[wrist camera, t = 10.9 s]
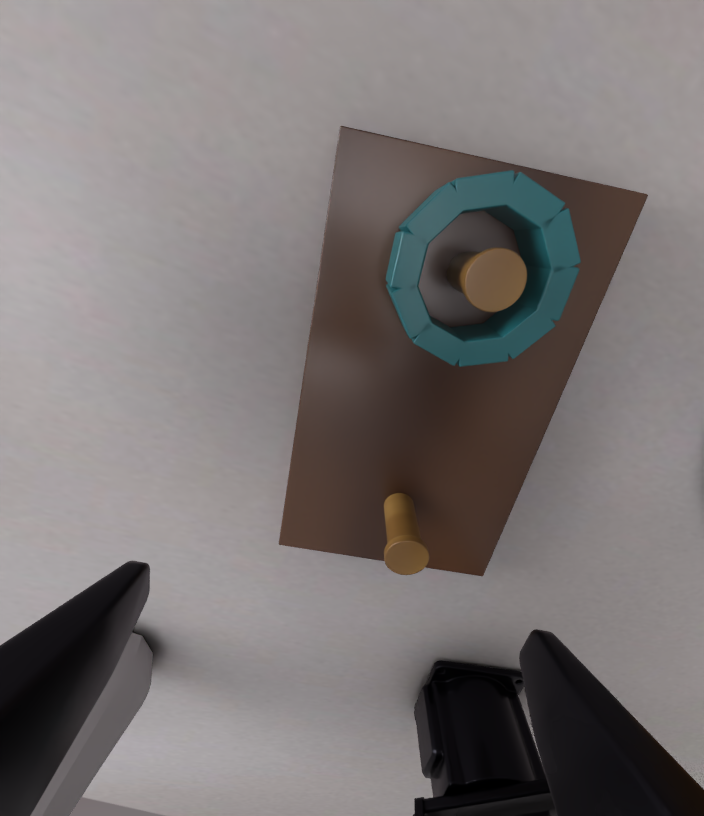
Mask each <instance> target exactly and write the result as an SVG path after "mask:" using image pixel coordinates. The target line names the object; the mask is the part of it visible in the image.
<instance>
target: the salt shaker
mask: <svg viewBox="0 0 704 816" xmlns="http://www.w3.org/2000/svg"><path fill="white" fill-rule="evenodd" d="M152 661H153V653H152V651H151V649H150V648H149V646H148V645H147V643H146V641H145V640H144V638H143V636H141V635H138V634H135V633H131V636H130V638H129V640H128V642H127V644H126V646H125V649H124V651H123V653H122V655H121V657H120V659H119V662H118V664H117V666H116V668H115V670H114V672H113V674H112V676H111V678H110V679H109V681H108V683H107V685H106V687H105V688H104V690H103V692H102V694H101V695H100V697H99V699H98V700H97V702H96V704H95V706H94V707H93V709H92V711H91V712H90V714H89V716H88V718H87V719H86V721H85V723H84V724H83V726H82V728H81V730H80V731H79V733H78V735H77V737H76V738H75V740H74V742H73V743H72V745H71V747H70V749H69V750H68V752H67V754H66V755H65V757H64V759H63V761H62V762H61V764H60V766H59V768H58V769H57V771H56V773H55V774H54V776H53V778H52V780H51V781H50V783H49V785H48V786H47V788H46V790H45V792H44V793H43V795H42V797H41V799H40V800H39V802H38V804H37V805H36V807H35V809H34V811H33V812H32V814H31V816H69V815H70V814H71V812H72V811H73V809H74V807H75V806H76V804H77V803H78V801H79V800H80V798H81V797H82V795H83V794H84V792H85V790H86V789H87V787H88V786H89V784H90V783H91V781H92V780H93V778H94V777H95V775H96V774H97V772H98V770H99V769H100V767H101V766H102V764H103V763H104V761H105V760H106V758H107V757H108V755H109V754H110V752H111V751H112V749H113V748H114V746H115V745H116V743H117V742H118V740H119V739H120V737H121V736H122V734H123V733H124V731H125V730H126V728H127V727H128V725H129V724H130V722H131V721H132V719H133V718H134V716H135V715H136V713H137V712H138V710H139V709H140V707H141V706H142V704H143V702H144V700H145V698H146V696H147V694H148V692H149V689H150V685H151V675H152Z"/></svg>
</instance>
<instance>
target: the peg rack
mask: <svg viewBox="0 0 704 816" xmlns="http://www.w3.org/2000/svg"><path fill="white" fill-rule="evenodd" d="M510 170H513V171H514V174H516V173H518V172H522V173H523V174H525V175H526V176H528V177H529V178H530V179H532V180H533V181H535V182H536V183H538V184H539V185H541V186H542V187H543V188H545V189H546V190H548V191H549V192H551V193H552V194H553V195H555V196H556V197H558V198H559V199H561V200H562V201H564V202H565V205H564V206H563V208H562V209H565V208H569V211H570V215H571V220H572V224H573V229H574V233H575V237H576V242H577V246H578V251H579V255H580V260H581V263H580V264H577V265H575V266H574V267H578V268H579V273H578V275H577V278H576V280H575V283H574V285H573V288H572V290H571V293H570V295H569V298H568V300H567V303H566V305H565V308H564V310H563V313H562V315H561V318H560V320H559V321H554V320H552V321H553V322H554V324H555V325H556V326H555V327H554V328H553V329H551V330H550V331H549V332H548V333H546V334H545V335H544V336H542V337H541V338H540V339H539V340H537V341H536V342H535V343H534V344H532V345H531V346H530V347H528V348H527V349H526V350H525V351H523V352H522V353H521V354H519V355H518V356H517V357H516V358H514V359H512V358H510V357H509V356H508V361H506V362H498V363H489V364H480V365H472V366H463V367H459V366H458V365H457V363H456V364H455V366H453V365H451V364H449V363H447V362H446V361H444V360H442V359H440V358H439V357H437V356H435V355H433V354H431V353H430V352H428V351H426V350H424V349H423V348H421V347H419V346H417V345H415V344H414V343H413V342H412V340H411V339H410V338H409V337H408V335H407V333H406V331H405V329H404V327H403V325H402V323H401V321H400V318H399V316H398V314H397V311H396V309H395V306H394V304H393V302H392V299H391V297H390V294H389V292H388V290H387V287H386V285H387V284H388V283H387V281H386V274H387V270H388V265H389V260H390V256H391V251H392V247H393V242H394V237H395V233H396V232H401V231H400V229H399V226H400V225H401V224H402V223H403V222H404V221H405V220H406V219H407V218H408V217H409V216H410V215H411V214H412V213H413V212H414V211H415V210H416V209H417V208H418V207H419V206H420V205H421V204H422V203H423V202H424V201H425V200H426V199H427V198H428V197H429V196H430V195H431V194H432V193H433V192H434V191H435V190H437V189H439V188H440V187H442V186H443V185H445V184H447V183H448V182H452V181H453V180H455V179H457V178H462V177H469V176H476V175H483V174H490V173H497V172H503V171H510ZM647 196H648V195H647V194H644V193H639V192H635V191H630V190H626V189H621V188H617V187H612V186H608V185H603V184H599V183H594V182H590V181H585V180H581V179H576V178H572V177H568V176H563V175H559V174H554V173H550V172H545V171H541V170H536V169H532V168H527V167H523V166H518V165H514V164H509V163H505V162H500V161H496V160H492V159H487V158H483V157H478V156H474V155H469V154H465V153H460V152H456V151H451V150H447V149H442V148H438V147H433V146H429V145H424V144H420V143H416V142H411V141H407V140H402V139H398V138H393V137H389V136H384V135H380V134H375V133H371V132H366V131H362V130H357V129H353V128H348V127H344V126H340V131H339V138H338V144H337V151H336V158H335V165H334V172H333V178H332V185H331V192H330V199H329V206H328V212H327V219H326V226H325V233H324V240H323V246H322V253H321V260H320V267H319V274H318V281H317V287H316V294H315V301H314V308H313V315H312V321H311V328H310V335H309V342H308V349H307V355H306V362H305V369H304V376H303V383H302V389H301V396H300V403H299V410H298V417H297V423H296V430H295V437H294V444H293V451H292V457H291V464H290V471H289V478H288V485H287V491H286V498H285V505H284V512H283V519H282V526H281V532H280V539H279V545H285V546H291V547H298V548H304V549H310V550H317V551H323V552H330V553H336V554H343V555H349V556H356V557H362V558H368V559H375V560H381V561H385V563H386V565H387V567H388V568H389V569H390V570H391V571H393V572H395V573H397V574H401V575H411V574H415V573H417V572H419V571H421V570H422V569H424V568H425V567H426V568H433V569H439V570H446V571H452V572H458V573H465V574H471V575H478V576H483V575H484V572H485V570H486V568H487V565H488V563H489V561H490V559H491V556H492V554H493V552H494V549H495V547H496V545H497V542H498V540H499V538H500V535H501V533H502V531H503V529H504V526H505V524H506V522H507V519H508V517H509V515H510V512H511V510H512V508H513V505H514V503H515V501H516V499H517V496H518V494H519V492H520V489H521V487H522V485H523V482H524V480H525V478H526V475H527V473H528V471H529V469H530V466H531V464H532V462H533V459H534V457H535V455H536V452H537V450H538V448H539V446H540V443H541V441H542V439H543V436H544V434H545V432H546V429H547V427H548V425H549V422H550V420H551V418H552V416H553V413H554V411H555V409H556V406H557V404H558V402H559V399H560V397H561V395H562V392H563V390H564V388H565V386H566V383H567V381H568V379H569V376H570V374H571V372H572V369H573V367H574V365H575V362H576V360H577V358H578V356H579V353H580V351H581V349H582V346H583V344H584V342H585V339H586V337H587V335H588V332H589V330H590V328H591V326H592V323H593V321H594V319H595V316H596V314H597V312H598V309H599V307H600V305H601V302H602V300H603V298H604V296H605V293H606V291H607V289H608V286H609V284H610V282H611V279H612V277H613V275H614V272H615V270H616V268H617V266H618V263H619V261H620V259H621V256H622V254H623V252H624V249H625V247H626V245H627V242H628V240H629V238H630V236H631V233H632V231H633V229H634V226H635V224H636V222H637V219H638V217H639V215H640V212H641V210H642V208H643V206H644V203H645V201H646V199H647ZM526 281H527V270H526V266H525V263H524V261H523V260H522V258H521V255H520V251H519V248H518V244H517V241H516V237H515V233H514V230H513V229H511V228H510V227H508V226H507V225H505V224H504V223H502V222H501V221H499V220H498V219H496V218H495V217H493V216H492V215H490V214H488V213H487V212H485V211H478V212H470V213H463V214H460V215H459V216H458V217H457V218H456V219H454V220H453V221H452V222H451V223H450V224H449V225H448V226H447V227H446V228H445V229H444V230H443V231H442V232H441V233H440V234H439V235H438V236H437V237H435V238H434V239H433V240H432V241H431V242H430V243H429V245H428V249H427V253H426V257H425V261H424V265H423V269H422V273H421V277H420V281H419V285H418V287H419V289H420V292H421V295H422V297H423V300H424V302H425V305H426V307H427V310H428V313H429V315H430V316H431V317H433V318H435V319H437V320H438V321H440V322H442V323H443V324H445V325H447V326H449V327H458V326H466V325H474V324H483V323H484V322H485V321H487V320H488V319H489V318H490V317H491V316H493V315H494V314H495V313H496V312H498V311H501V310H504V309H506V308H508V307H510V306H511V305H512V304H513V303H515V302H516V301H517V300H518V298H519V297H520V296H521V294H522V292H523V290H524V288H525V285H526Z"/></svg>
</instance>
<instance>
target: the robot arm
mask: <svg viewBox="0 0 704 816" xmlns="http://www.w3.org/2000/svg"><path fill="white" fill-rule="evenodd" d="M149 589H150V567H149V565H148V564H147V563H143V562H137V561H129V562H127V563H125V564H124V565H122V566H121V567H119V568H117V569H116V570H114V571H113V572H111V573H110V574H108V575H107V576H105V577H104V578H102V579H101V580H99V581H98V582H96V583H95V584H93V585H92V586H90V587H89V588H87V589H86V590H84V591H83V592H81V593H79V594H78V595H76V596H75V597H73V598H72V599H70V600H69V601H67V602H66V603H64V604H63V605H61V606H60V607H58V608H57V609H55V610H54V611H52V612H51V613H49V614H48V615H46V616H45V617H43V618H41V619H40V620H38V621H37V622H35V623H34V624H32V625H31V626H29V627H28V628H26V629H25V630H23V631H22V632H20V633H19V634H17V635H16V636H14V637H13V638H11V639H10V640H8V641H7V642H5V643H3V644H2V645H0V816H31V814H32V812H33V811H34V809H35V807H36V805H37V804H38V802H39V800H40V799H41V797H42V795H43V793H44V792H45V790H46V788H47V786H48V785H49V783H50V781H51V780H52V778H53V776H54V774H55V773H56V771H57V769H58V768H59V766H60V764H61V762H62V761H63V759H64V757H65V755H66V754H67V752H68V750H69V749H70V747H71V745H72V743H73V742H74V740H75V738H76V737H77V735H78V733H79V731H80V730H81V728H82V726H83V724H84V723H85V721H86V719H87V718H88V716H89V714H90V712H91V711H92V709H93V707H94V706H95V704H96V702H97V700H98V699H99V697H100V695H101V694H102V692H103V690H104V688H105V687H106V685H107V683H108V681H109V679H110V678H111V676H112V674H113V672H114V670H115V668H116V666H117V664H118V662H119V659H120V657H121V655H122V653H123V651H124V649H125V646H126V644H127V642H128V640H129V638H130V636H131V633H132V631H133V629H134V627H135V625H136V623H137V620H138V618H139V616H140V614H141V612H142V610H143V607H144V605H145V603H146V601H147V598H148V595H149ZM519 659H520V667H521V672H519V671H512V670H505V669H498V668H491V667H484V666H477V665H469V664H462V663H455V662H448V661H437V662H436V663H435V664H434V666H433V668H432V670H431V673H430V675H429V678H428V680H427V682H426V684H425V685H424V686H423V688H422V690H421V692H420V695H419V697H418V700H417V702H416V704H415V711H414V716H415V720H416V725H417V733H418V742H419V750H420V758H421V766H422V773H423V774H424V776H425V777H426V778H431V783H432V791H433V798H428V799H424V797H421V798H415V814H414V815H413V816H704V789H703V788H702V787H701V786H700V785H699V784H698V783H697V782H696V781H695V780H694V779H693V778H692V777H691V776H690V775H689V774H688V773H687V772H686V771H685V770H684V769H683V768H682V767H681V766H680V765H679V763H678V762H677V761H676V760H675V759H674V758H673V757H672V756H671V755H670V754H669V753H668V752H667V751H666V750H665V749H664V748H663V747H662V746H661V745H660V744H659V743H658V742H657V741H656V740H655V739H654V738H653V737H652V735H651V734H650V733H649V732H648V731H647V730H646V729H645V728H644V727H643V726H642V725H641V724H640V723H639V722H638V721H637V720H636V719H635V718H634V717H633V716H632V715H631V714H630V713H629V712H628V711H627V710H626V709H625V708H624V706H623V705H622V704H621V703H620V702H619V701H618V700H617V699H616V698H615V697H614V696H613V695H612V694H611V693H610V692H609V691H608V690H607V689H606V688H605V687H604V686H603V685H602V684H601V683H600V682H599V681H598V680H597V678H596V677H595V676H594V675H593V674H592V673H591V672H590V671H589V670H588V669H587V668H586V667H585V666H584V665H583V664H582V663H581V662H580V661H579V660H578V659H577V658H576V657H575V656H574V655H573V654H572V653H571V652H570V651H569V649H568V648H567V647H566V646H565V645H564V644H563V643H562V642H561V641H560V640H559V639H558V638H557V637H556V636H555V635H554V634H553V633H551V632H548V631H543V630H533V631H532V632H531V633H530V635H529V637H528V638H527V640H526V642H525V644H524V646H523V647H522V649H521V651H520V657H519ZM523 687H525V692H526V697H527V702H528V707H529V712H530V717H531V722H532V727H533V731H534V736H535V740H536V743H537V747H538V751H539V754H540V757H539V754H538V751H537V748H536V745H535V742H534V740H533V737H532V734H531V731H530V728H529V725H528V722H527V720H526V717H525V714H524V711H523V708H522V705H521V702H520V700H519V697H518V695H519V693H520V692H521V690H522V688H523ZM540 758H541V760H540ZM541 761H542V762H541Z"/></svg>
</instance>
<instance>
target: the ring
mask: <svg viewBox="0 0 704 816" xmlns="http://www.w3.org/2000/svg"><path fill="white" fill-rule="evenodd" d="M564 205H565V202H564V201H562V200H561V199H559V198H558V197H556V196H555V195H553V194H552V193H551V192H549V191H548V190H546V189H545V188H543V187H542V186H541V185H539V184H538V183H536V182H535V181H533V180H532V179H530V178H529V177H528V176H526V175H525V174H523V173H522V172H518V173H516V174H514V171H513V170H510V171H503V172H497V173H490V174H483V175H476V176H469V177H462V178H457V179H455V180H453V181H452V182H448V183H447V184H445V185H443V186H442V187H440V188H439V189H437V190H435V191H434V192H433V193H432V194H431V195H430V196H429V197H428V198H427V199H426V200H425V201H424V202H423V203H422V204H421V205H420V206H419V207H418V208H417V209H416V210H415V211H414V212H413V213H412V214H411V215H410V216H409V217H408V218H407V219H406V220H405V221H404V222H403V223H402V224H401V225H400V226H399V229H400V231H401V232H396V233H395V237H394V242H393V247H392V251H391V256H390V260H389V265H388V270H387V274H386V281H387V283H388V284H387V285H386V287H387V290H388V292H389V294H390V297H391V299H392V302H393V304H394V306H395V309H396V311H397V314H398V316H399V318H400V321H401V323H402V325H403V327H404V329H405V331H406V333H407V335H408V337H409V338H410V339H411V340H412V342H413V343H414V344H415V345H417V346H419V347H421V348H423V349H424V350H426V351H428V352H430V353H431V354H433V355H435V356H437V357H439V358H440V359H442V360H444V361H446V362H447V363H449V364H451V365H453V366H455V364H456V363H457V365H458V366H459V367H463V366H472V365H480V364H489V363H498V362H506V361H508V356H509V357H510V358H512V359H514V358H516V357H517V356H518V355H519V354H521V353H522V352H523V351H525V350H526V349H527V348H528V347H530V346H531V345H532V344H534V343H535V342H536V341H537V340H539V339H540V338H541V337H542V336H544V335H545V334H546V333H548V332H549V331H550V330H551V329H553V328H554V327H555V326H556V325H555V324H554V322H553V321H552V320H554V321H559V320H560V318H561V315H562V313H563V310H564V308H565V305H566V303H567V300H568V298H569V295H570V293H571V290H572V288H573V285H574V283H575V280H576V278H577V275H578V273H579V268H578V267H574V266H575V265H577V264H580V263H581V260H580V255H579V251H578V246H577V242H576V237H575V233H574V229H573V224H572V220H571V215H570V211H569V208H565V209H562V208H563V206H564ZM478 211H485V212H487V213H488V214H490V215H492V216H493V217H495V218H496V219H498V220H499V221H501V222H502V223H504V224H505V225H507V226H508V227H510V228H511V229H513V230H514V233H515V237H516V241H517V244H518V248H519V251H520V255H521V258H522V260H523V261H524V263H525V266H526V270H527V281H526V285H525V288H524V290H523V292H522V294H521V296H520V297H519V298H518V300H517V301H516V302H515V303H513V304H512V305H511V306H510V307H508V308H506V309H504V310H501V311H498V312H496V313H495V314H494V315H493V316H491V317H490V318H489V319H488V320H487V321H485V322H484V323H483V324H474V325H466V326H458V327H449V326H447V325H445V324H443V323H442V322H440V321H438V320H437V319H435V318H433V317H431V316H430V315H429V313H428V310H427V307H426V305H425V302H424V300H423V297H422V295H421V292H420V289H419V287H418V285H419V281H420V277H421V273H422V269H423V265H424V261H425V257H426V253H427V249H428V245H429V243H430V242H431V241H432V240H433V239H434V238H435V237H437V236H438V235H439V234H440V233H441V232H442V231H443V230H444V229H445V228H446V227H447V226H448V225H449V224H450V223H451V222H452V221H453V220H454V219H456V218H457V217H458V216H459V215H460V214H463V213H470V212H478Z"/></svg>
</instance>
